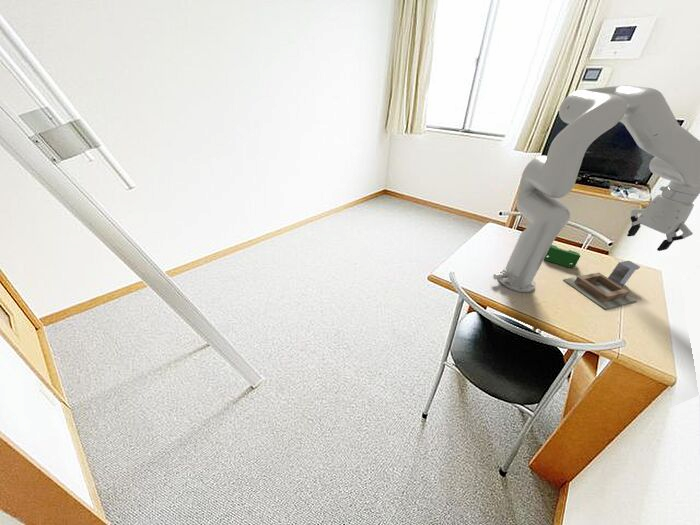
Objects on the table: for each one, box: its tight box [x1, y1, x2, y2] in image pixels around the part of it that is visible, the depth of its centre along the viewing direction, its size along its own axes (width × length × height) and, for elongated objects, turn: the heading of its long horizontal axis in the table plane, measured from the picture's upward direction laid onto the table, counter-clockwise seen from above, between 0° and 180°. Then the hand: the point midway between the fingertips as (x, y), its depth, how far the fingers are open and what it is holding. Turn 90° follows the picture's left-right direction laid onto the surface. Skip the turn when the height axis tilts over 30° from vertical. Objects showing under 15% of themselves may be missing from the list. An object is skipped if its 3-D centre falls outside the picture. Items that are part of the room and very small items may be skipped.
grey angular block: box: [607, 260, 641, 286], centre depth 111 cm, size 6×4×8 cm
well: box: [563, 272, 638, 310], centre depth 107 cm, size 16×16×3 cm
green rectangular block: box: [544, 244, 581, 269], centre depth 122 cm, size 12×6×9 cm, turn 52°
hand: (644, 242), depth 104 cm, fingers open, 9 cm apart
